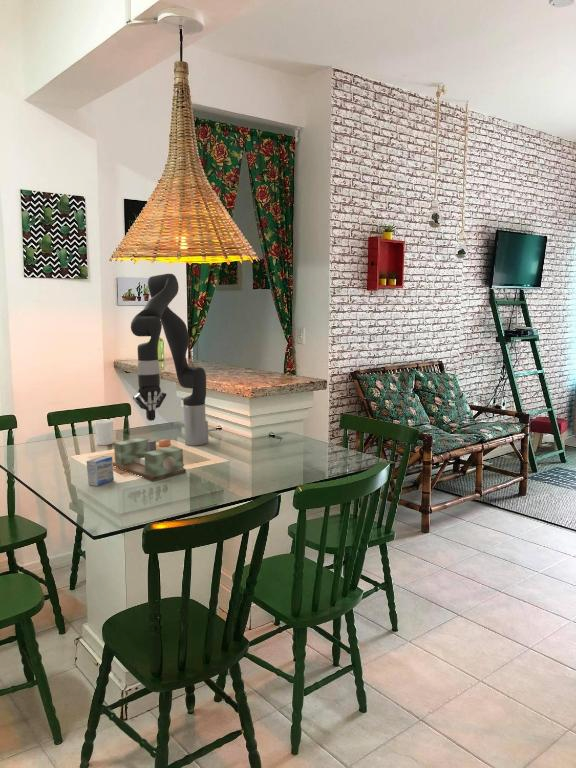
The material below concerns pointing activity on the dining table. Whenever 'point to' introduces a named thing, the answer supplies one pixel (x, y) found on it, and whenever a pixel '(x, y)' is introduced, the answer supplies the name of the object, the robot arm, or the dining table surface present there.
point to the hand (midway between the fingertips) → (151, 420)
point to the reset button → (164, 443)
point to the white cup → (104, 431)
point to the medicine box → (100, 470)
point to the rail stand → (148, 459)
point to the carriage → (149, 449)
